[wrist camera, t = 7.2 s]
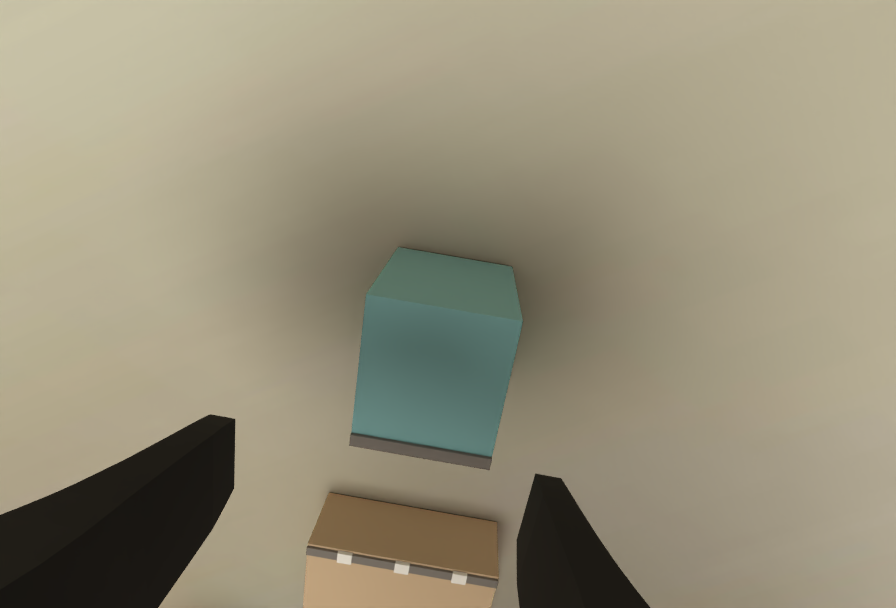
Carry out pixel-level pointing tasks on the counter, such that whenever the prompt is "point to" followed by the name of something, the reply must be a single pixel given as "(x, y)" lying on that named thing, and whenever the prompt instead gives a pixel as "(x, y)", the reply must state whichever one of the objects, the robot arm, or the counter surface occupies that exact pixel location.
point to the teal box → (436, 358)
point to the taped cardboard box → (398, 557)
